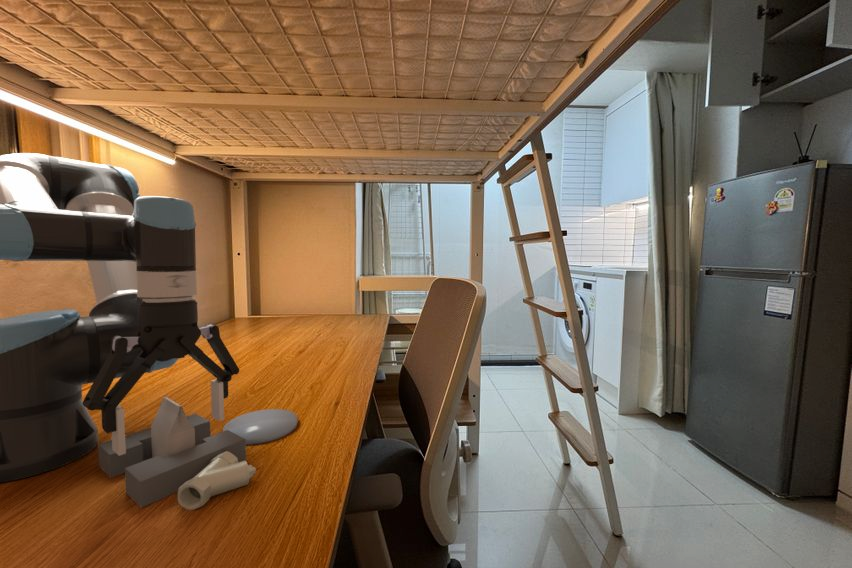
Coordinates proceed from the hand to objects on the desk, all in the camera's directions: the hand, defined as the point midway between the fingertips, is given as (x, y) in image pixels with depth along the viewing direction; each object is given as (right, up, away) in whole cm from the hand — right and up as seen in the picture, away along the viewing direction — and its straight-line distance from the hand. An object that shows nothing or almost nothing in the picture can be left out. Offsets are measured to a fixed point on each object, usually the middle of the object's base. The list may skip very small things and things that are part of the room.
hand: (173, 433), depth 57 cm
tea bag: (0, -5, +1) cm, 5 cm away
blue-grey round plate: (+8, -4, +13) cm, 16 cm away
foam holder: (0, -5, +1) cm, 5 cm away
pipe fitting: (+11, -6, -6) cm, 14 cm away
